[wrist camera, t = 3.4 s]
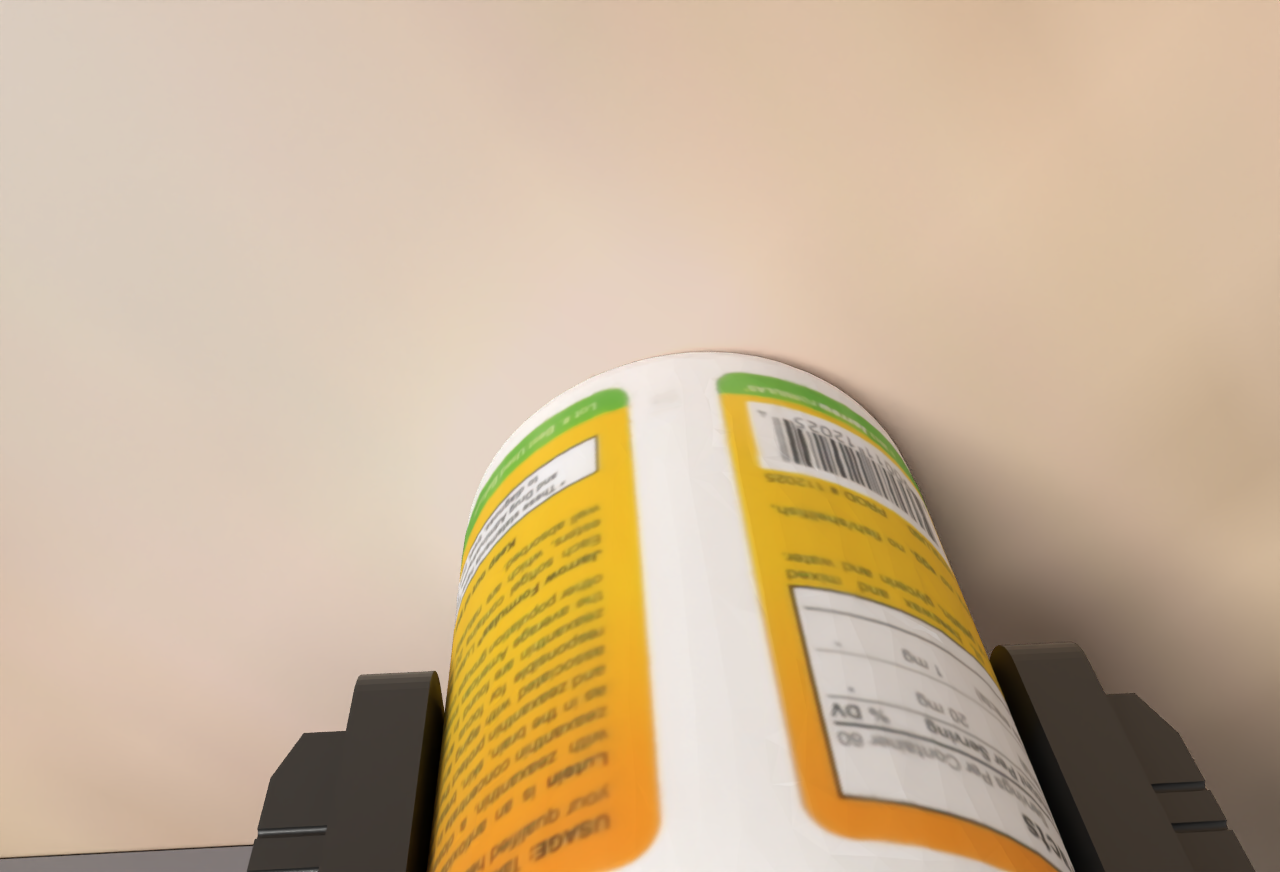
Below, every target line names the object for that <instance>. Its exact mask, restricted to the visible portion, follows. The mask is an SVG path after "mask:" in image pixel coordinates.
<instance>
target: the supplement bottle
mask: <svg viewBox="0 0 1280 872" xmlns="http://www.w3.org/2000/svg"><path fill="white" fill-rule="evenodd" d="M426 872H1075V870H1074V868H1073V866H1072V863H1071V861H1070V858H1069V856H1068V854H1067V851H1066V849H1065V846H1064V844H1063V841H1062V839H1061V836H1060V834H1059V831H1058V829H1057V826H1056V824H1055V821H1054V819H1053V816H1052V814H1051V811H1050V809H1049V806H1048V804H1047V802H1046V799H1045V797H1044V794H1043V792H1042V789H1041V787H1040V784H1039V782H1038V780H1037V777H1036V775H1035V772H1034V770H1033V767H1032V765H1031V762H1030V760H1029V758H1028V755H1027V753H1026V750H1025V748H1024V745H1023V743H1022V740H1021V738H1020V736H1019V733H1018V731H1017V728H1016V726H1015V723H1014V721H1013V718H1012V716H1011V713H1010V711H1009V708H1008V706H1007V703H1006V701H1005V698H1004V696H1003V693H1002V691H1001V688H1000V686H999V683H998V681H997V678H996V676H995V673H994V671H993V669H992V666H991V664H990V661H989V659H988V656H987V654H986V651H985V649H984V646H983V644H982V641H981V639H980V637H979V634H978V632H977V629H976V627H975V624H974V622H973V620H972V617H971V615H970V612H969V610H968V607H967V605H966V602H965V600H964V598H963V595H962V593H961V590H960V588H959V585H958V583H957V581H956V578H955V576H954V573H953V571H952V569H951V566H950V564H949V561H948V559H947V557H946V554H945V552H944V549H943V547H942V544H941V542H940V539H939V537H938V534H937V532H936V530H935V527H934V525H933V522H932V520H931V517H930V515H929V512H928V510H927V507H926V505H925V502H924V500H923V498H922V495H921V493H920V490H919V488H918V486H917V484H916V483H915V481H914V479H913V477H912V475H911V473H910V471H909V469H908V467H907V465H906V463H905V461H904V459H903V457H902V456H901V454H900V452H899V450H898V448H897V447H896V445H895V444H894V442H893V441H892V440H891V438H890V437H889V435H888V434H887V432H886V431H885V430H884V429H883V428H882V427H881V425H880V424H879V423H878V422H877V421H876V420H875V419H874V418H873V417H872V416H871V415H870V414H869V413H868V412H867V411H866V410H865V409H864V408H863V407H862V406H861V405H859V404H858V403H857V402H856V401H855V400H853V399H852V398H851V397H850V396H848V395H847V394H845V393H844V392H842V391H841V390H840V389H838V388H837V387H835V386H833V385H831V384H830V383H828V382H826V381H824V380H822V379H820V378H818V377H816V376H814V375H812V374H810V373H808V372H805V371H803V370H800V369H797V368H794V367H792V366H789V365H786V364H784V363H781V362H778V361H774V360H770V359H766V358H762V357H758V356H751V355H744V354H737V353H726V352H688V353H679V354H670V355H663V356H658V357H652V358H647V359H643V360H639V361H636V362H632V363H628V364H625V365H622V366H619V367H617V368H614V369H611V370H608V371H605V372H603V373H600V374H598V375H595V376H593V377H591V378H589V379H587V380H585V381H583V382H581V383H580V384H578V385H576V386H574V387H572V388H570V389H568V390H567V391H565V392H563V393H561V394H560V395H558V396H557V397H555V398H554V399H552V400H551V401H550V402H548V403H547V404H546V405H544V406H543V407H542V408H540V409H539V410H538V411H537V412H535V413H534V414H533V415H532V416H530V417H529V418H528V419H527V420H526V421H525V422H524V423H523V424H522V425H521V426H520V427H519V428H518V429H517V430H516V431H515V432H514V433H513V434H512V435H511V436H510V437H509V438H508V439H507V441H506V442H505V443H504V444H503V446H502V447H501V448H500V450H499V451H498V452H497V454H496V455H495V457H494V458H493V460H492V462H491V463H490V465H489V467H488V468H487V470H486V472H485V474H484V476H483V478H482V480H481V482H480V484H479V487H478V489H477V492H476V495H475V498H474V501H473V504H472V507H471V511H470V515H469V520H468V525H467V530H466V535H465V542H464V548H463V555H462V564H461V573H460V583H459V590H458V596H457V610H456V619H455V629H454V637H453V646H452V655H451V664H450V672H449V681H448V689H447V697H446V706H445V716H444V725H443V735H442V743H441V752H440V761H439V769H438V778H437V786H436V795H435V803H434V812H433V820H432V829H431V837H430V846H429V854H428V863H427V871H426Z"/></svg>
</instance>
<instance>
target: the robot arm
mask: <svg viewBox="0 0 1280 872" xmlns="http://www.w3.org/2000/svg"><path fill="white" fill-rule="evenodd" d="M989 661H990V664H991V666H992V669H993V671H994V673H995V676H996V678H997V681H998V683H999V686H1000V688H1001V691H1002V693H1003V696H1004V698H1005V701H1006V703H1007V706H1008V708H1009V711H1010V713H1011V716H1012V718H1013V721H1014V723H1015V726H1016V728H1017V731H1018V733H1019V736H1020V738H1021V740H1022V743H1023V745H1024V748H1025V750H1026V753H1027V755H1028V758H1029V760H1030V762H1031V765H1032V767H1033V770H1034V772H1035V775H1036V777H1037V780H1038V782H1039V784H1040V787H1041V789H1042V792H1043V794H1044V797H1045V799H1046V802H1047V804H1048V806H1049V809H1050V811H1051V814H1052V816H1053V819H1054V821H1055V824H1056V826H1057V829H1058V831H1059V834H1060V836H1061V839H1062V841H1063V844H1064V846H1065V849H1066V851H1067V854H1068V856H1069V858H1070V861H1071V863H1072V866H1073V868H1074V870H1075V872H1255V870H1254V868H1253V867H1252V865H1251V863H1250V861H1249V859H1248V858H1247V856H1246V854H1245V852H1244V850H1243V849H1242V847H1241V845H1240V843H1239V841H1238V840H1237V838H1236V836H1235V834H1234V832H1233V831H1232V830H1228V828H1227V825H1226V821H1227V820H1226V818H1225V816H1224V814H1223V813H1222V811H1221V809H1220V807H1219V805H1218V804H1217V802H1216V800H1215V798H1214V796H1213V795H1212V793H1211V791H1210V790H1208V791H1207V790H1206V788H1205V780H1204V778H1203V777H1202V775H1201V773H1200V771H1199V769H1198V768H1197V766H1196V764H1195V762H1194V760H1193V759H1192V757H1191V755H1190V753H1189V751H1188V750H1187V748H1186V746H1185V744H1184V742H1183V741H1182V739H1181V737H1180V735H1179V733H1178V732H1176V731H1175V730H1174V729H1173V728H1172V727H1171V726H1170V725H1169V724H1168V723H1167V722H1166V721H1164V720H1163V719H1162V718H1161V717H1160V716H1159V715H1158V714H1157V713H1156V712H1155V711H1154V710H1152V709H1151V708H1150V707H1149V706H1148V705H1147V704H1146V703H1145V702H1144V701H1143V700H1141V699H1140V698H1139V697H1138V696H1137V695H1136V694H1135V693H1130V694H1110V695H1105V693H1104V691H1103V689H1102V687H1101V685H1100V683H1099V681H1098V679H1097V677H1096V675H1095V673H1094V671H1093V669H1092V667H1091V665H1090V663H1089V661H1088V659H1087V657H1086V656H1085V654H1084V652H1083V651H1082V649H1081V648H1080V647H1079V646H1078V645H1077V644H1076V643H1073V642H1059V643H1039V644H1018V645H998V646H996V647H995V648H994V650H993V652H992V654H991V657H990V660H989ZM444 716H445V712H444V706H443V700H442V693H441V687H440V682H439V677H438V674H437V672H436V671H428V672H407V673H387V674H367V675H360V676H359V677H358V679H357V682H356V685H355V689H354V693H353V698H352V703H351V708H350V713H349V718H348V723H347V728H346V731H336V732H317V733H304V734H303V735H302V736H301V738H300V739H299V740H298V742H297V743H296V744H295V746H294V747H293V749H292V750H291V751H290V753H289V754H288V755H287V757H286V758H285V759H284V761H283V762H282V763H281V765H280V766H279V767H278V769H277V770H276V771H275V773H274V774H273V776H272V777H271V778H270V782H269V786H268V790H267V794H266V798H265V802H264V806H263V810H262V813H261V817H260V821H259V825H258V837H257V839H255V841H254V845H253V848H252V852H251V856H250V860H249V864H248V868H247V872H426V871H427V863H428V854H429V846H430V837H431V829H432V820H433V812H434V803H435V795H436V786H437V778H438V769H439V761H440V752H441V743H442V735H443V725H444Z"/></svg>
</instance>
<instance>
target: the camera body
mask: <svg viewBox="0 0 1280 872" xmlns="http://www.w3.org/2000/svg"><path fill="white" fill-rule="evenodd" d="M252 848H253V846H243V847H224V848H205V849H186V850H167V851H148V852H129V853H110V854H91V855H72V856H53V857H34V858H15V859H0V872H247V868H248V864H249V860H250V856H251V852H252Z"/></svg>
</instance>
